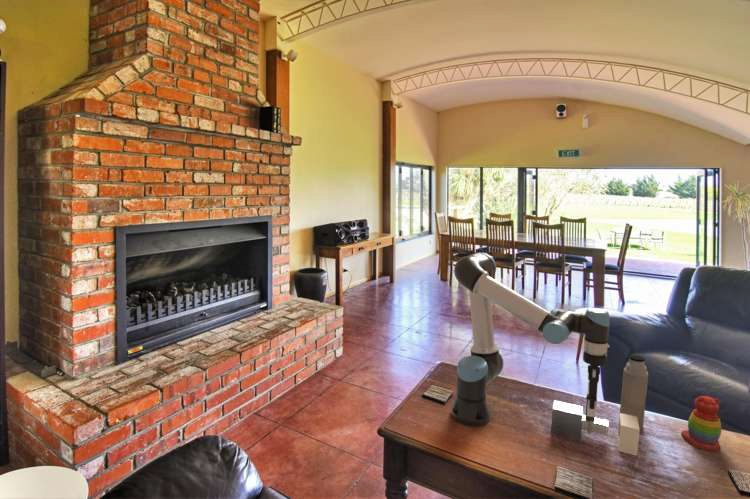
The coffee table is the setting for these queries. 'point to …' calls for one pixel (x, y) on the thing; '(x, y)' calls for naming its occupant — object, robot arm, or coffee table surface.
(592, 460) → the coffee table surface
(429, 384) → the coffee table surface
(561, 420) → the grey block
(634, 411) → the thermos bottle
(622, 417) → the socket block
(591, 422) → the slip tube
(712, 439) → the stacking bear
